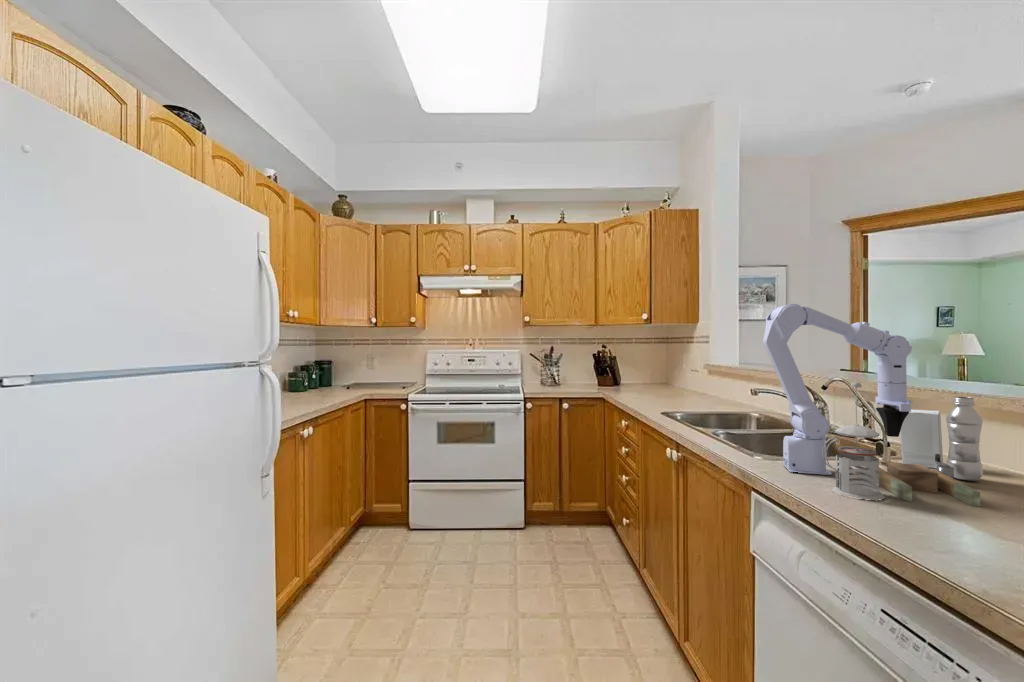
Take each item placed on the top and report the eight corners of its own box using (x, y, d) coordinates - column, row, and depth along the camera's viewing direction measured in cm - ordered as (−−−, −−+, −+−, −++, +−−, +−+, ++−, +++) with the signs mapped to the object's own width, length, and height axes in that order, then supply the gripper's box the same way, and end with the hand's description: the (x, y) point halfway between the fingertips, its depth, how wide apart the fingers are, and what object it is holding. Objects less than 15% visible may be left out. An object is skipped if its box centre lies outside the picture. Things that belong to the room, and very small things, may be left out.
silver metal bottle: (966, 475, 117) (965, 395, 117) (991, 484, 111) (990, 399, 111) (938, 475, 118) (937, 395, 118) (961, 483, 111) (960, 399, 111)
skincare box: (943, 465, 127) (942, 410, 127) (941, 470, 122) (940, 413, 122) (903, 460, 133) (902, 407, 133) (899, 464, 129) (899, 410, 129)
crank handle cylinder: (941, 484, 110) (940, 458, 110) (929, 478, 115) (929, 453, 115) (956, 486, 110) (956, 459, 110) (944, 479, 114) (944, 454, 114)
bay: (903, 500, 100) (903, 486, 100) (868, 476, 118) (868, 464, 118) (980, 506, 96) (980, 491, 96) (932, 480, 114) (932, 468, 114)
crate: (899, 489, 108) (899, 470, 108) (886, 480, 115) (886, 462, 115) (938, 493, 106) (938, 473, 106) (923, 483, 112) (922, 464, 112)
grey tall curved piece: (895, 502, 99) (894, 384, 99) (834, 499, 102) (833, 383, 102) (870, 487, 109) (869, 380, 109) (814, 485, 111) (813, 379, 111)
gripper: (926, 385, 111) (926, 443, 111) (897, 380, 125) (898, 431, 125) (890, 385, 113) (891, 441, 113) (866, 379, 127) (866, 430, 127)
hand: (892, 436), depth 119 cm, fingers closed
